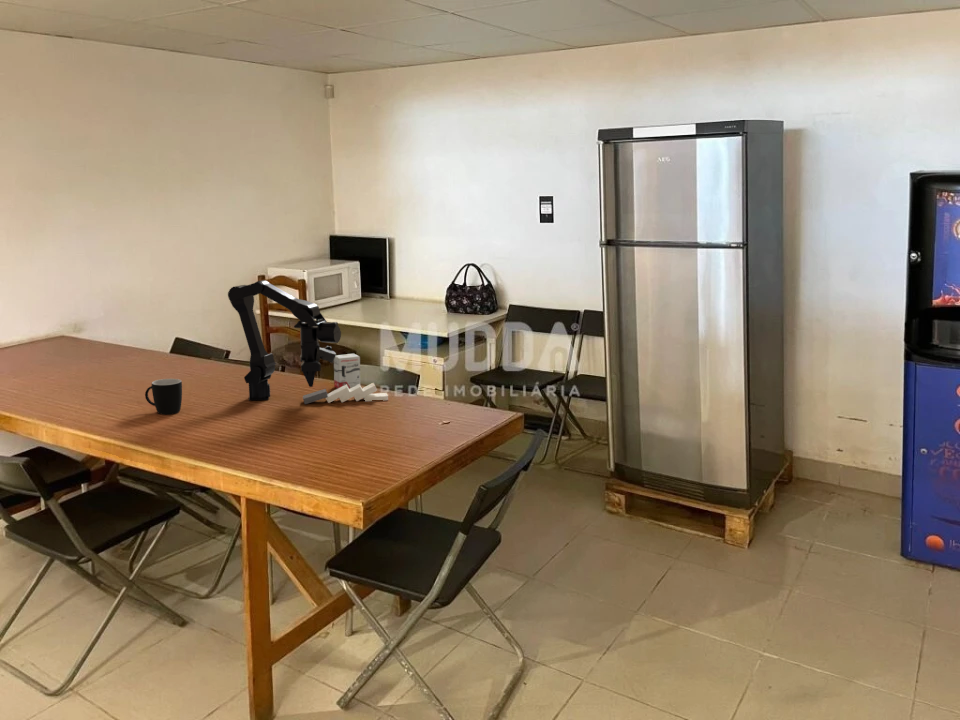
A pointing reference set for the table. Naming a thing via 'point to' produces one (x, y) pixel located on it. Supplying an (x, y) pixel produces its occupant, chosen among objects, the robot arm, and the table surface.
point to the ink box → (346, 370)
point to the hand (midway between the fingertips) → (311, 386)
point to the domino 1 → (315, 396)
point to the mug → (166, 395)
